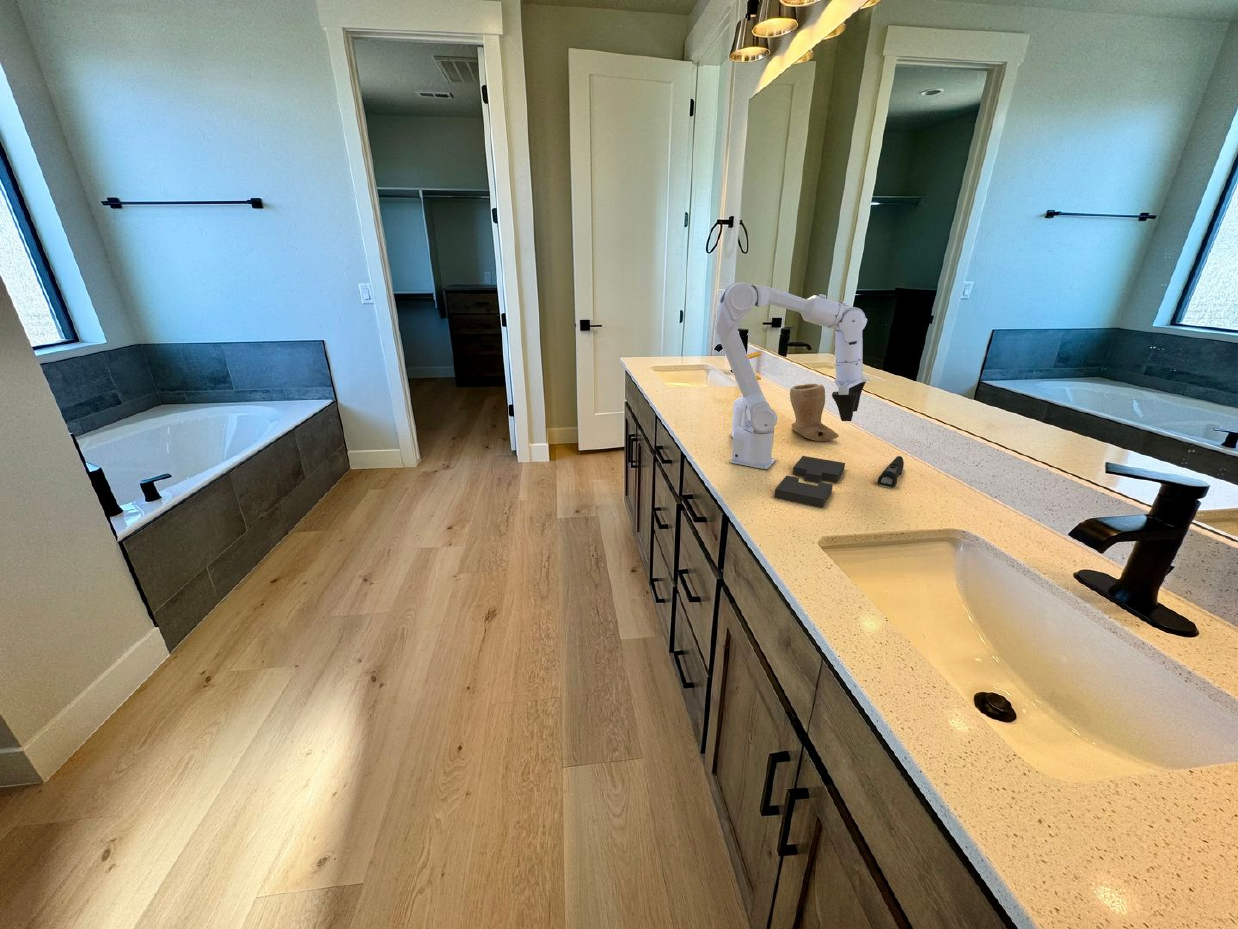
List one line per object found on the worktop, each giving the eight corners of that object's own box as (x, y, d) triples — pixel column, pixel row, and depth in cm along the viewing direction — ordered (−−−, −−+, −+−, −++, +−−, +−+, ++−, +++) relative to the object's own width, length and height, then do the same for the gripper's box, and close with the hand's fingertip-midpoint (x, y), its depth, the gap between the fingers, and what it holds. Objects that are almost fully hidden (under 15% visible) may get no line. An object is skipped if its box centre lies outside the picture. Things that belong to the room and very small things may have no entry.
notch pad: (774, 497, 106) (775, 489, 105) (785, 483, 113) (786, 475, 112) (822, 508, 101) (824, 499, 100) (831, 492, 108) (832, 484, 107)
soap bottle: (766, 441, 141) (775, 354, 132) (734, 442, 141) (741, 355, 132) (758, 432, 149) (766, 350, 140) (728, 432, 149) (734, 350, 140)
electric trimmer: (906, 469, 120) (909, 456, 119) (894, 489, 109) (897, 475, 108) (889, 465, 123) (892, 453, 122) (876, 485, 111) (878, 472, 110)
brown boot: (780, 427, 153) (786, 379, 148) (819, 427, 153) (825, 379, 147) (796, 443, 139) (802, 391, 133) (838, 443, 139) (846, 390, 133)
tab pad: (789, 477, 116) (790, 470, 115) (801, 463, 125) (802, 455, 124) (834, 486, 111) (836, 478, 110) (844, 470, 120) (845, 462, 119)
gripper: (862, 366, 107) (862, 425, 111) (872, 352, 117) (872, 406, 122) (828, 367, 110) (829, 425, 115) (840, 354, 121) (841, 407, 126)
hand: (849, 415), depth 119 cm, fingers open, 7 cm apart
